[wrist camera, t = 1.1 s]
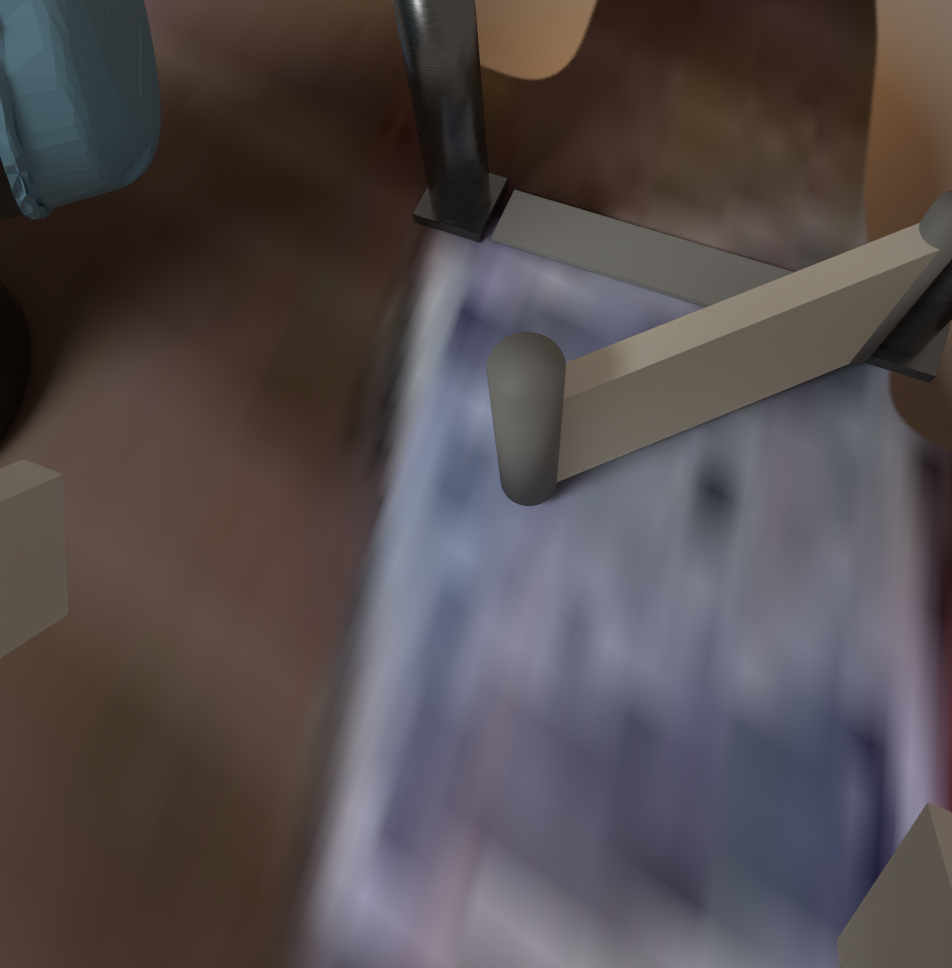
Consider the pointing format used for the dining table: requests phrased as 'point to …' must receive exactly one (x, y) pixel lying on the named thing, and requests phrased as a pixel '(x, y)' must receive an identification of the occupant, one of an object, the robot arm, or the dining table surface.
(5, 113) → the robot arm
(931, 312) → the hinge post
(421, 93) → the post
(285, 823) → the dining table surface
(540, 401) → the gate
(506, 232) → the strip
